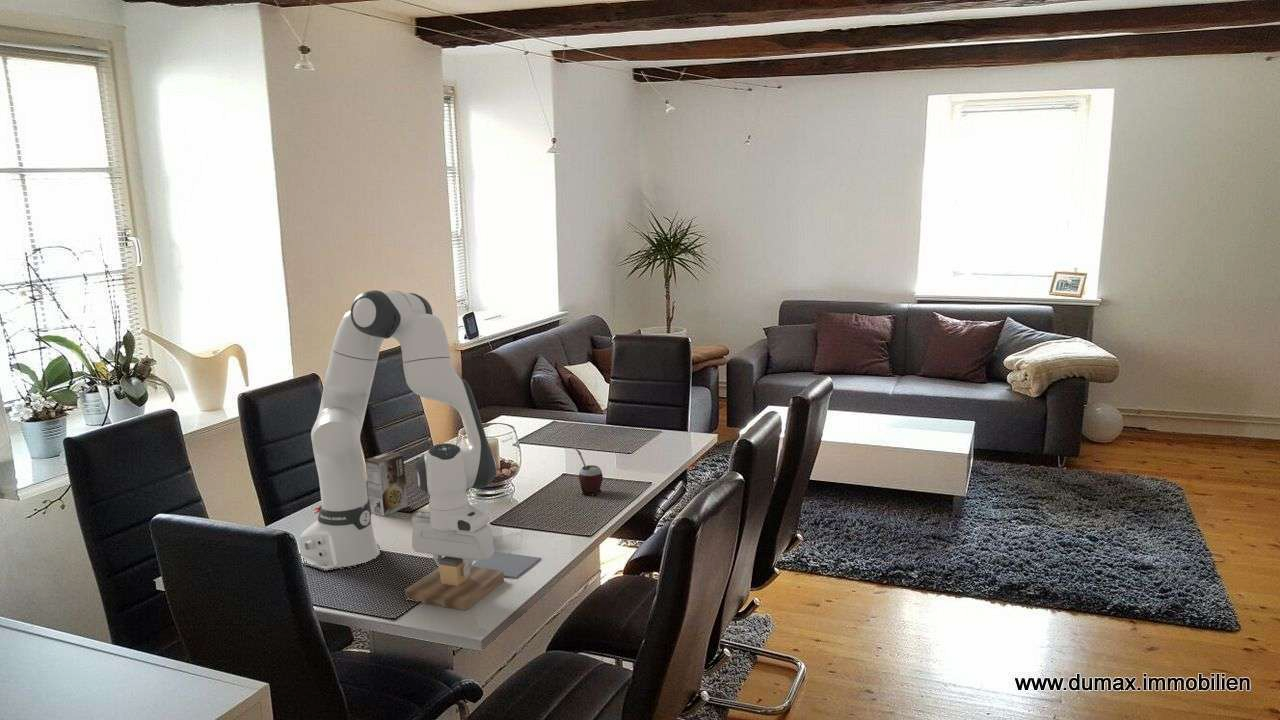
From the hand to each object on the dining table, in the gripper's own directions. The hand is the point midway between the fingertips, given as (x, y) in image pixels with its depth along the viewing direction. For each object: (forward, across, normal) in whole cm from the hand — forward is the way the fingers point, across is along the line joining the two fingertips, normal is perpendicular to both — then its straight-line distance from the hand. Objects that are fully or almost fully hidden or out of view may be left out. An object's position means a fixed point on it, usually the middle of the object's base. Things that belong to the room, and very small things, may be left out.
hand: (454, 573), depth 212 cm
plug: (+4, 0, 0) cm, 4 cm away
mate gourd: (+4, 0, +70) cm, 70 cm away
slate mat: (+4, +3, +16) cm, 17 cm away
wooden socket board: (+4, 0, 0) cm, 4 cm away
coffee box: (+4, -50, +40) cm, 64 cm away
